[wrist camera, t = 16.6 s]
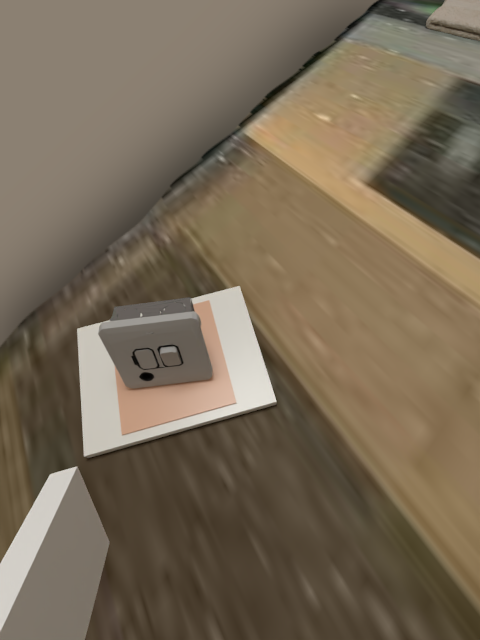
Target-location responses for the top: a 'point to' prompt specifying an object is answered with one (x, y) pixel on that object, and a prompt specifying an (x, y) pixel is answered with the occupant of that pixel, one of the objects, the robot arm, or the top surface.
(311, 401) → the top surface
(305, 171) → the top surface
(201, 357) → the electrical switch
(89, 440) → the mounting plate
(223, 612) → the top surface
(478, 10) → the washcloth
